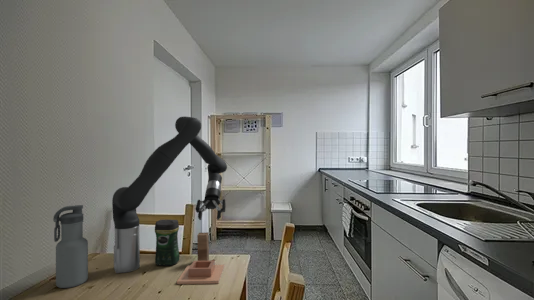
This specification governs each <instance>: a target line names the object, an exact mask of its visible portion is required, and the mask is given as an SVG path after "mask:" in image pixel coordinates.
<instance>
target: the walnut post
mask: <svg viewBox="0 0 534 300" xmlns="http://www.w3.org/2000/svg"><path fill="white" fill-rule="evenodd" d="M209 235H210V234H209V232H207V231H206V232H198V234H197V237H196V238H197V239H196V240H197V242H196V244H197V245H196V246H197V261H208V260H210V245H209V243H210V242H209V237H210V236H209Z"/></svg>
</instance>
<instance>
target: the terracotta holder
mask: <svg viewBox="0 0 534 300" xmlns="http://www.w3.org/2000/svg"><path fill="white" fill-rule="evenodd" d="M224 270H225V264H216V260H215V259H214V260H210V259H209V260H208V261H198V260H193V261H192V263H191V264H190V265H189V264H188V265H186V267H185V269H184V270H183V272H182V273H181V274H180V276H179V278H177V280H176V285H201V284H202V285H203V284H205V285H209V284H220V281H221V278H222V275H223V272H224Z"/></svg>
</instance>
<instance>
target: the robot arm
mask: <svg viewBox="0 0 534 300" xmlns="http://www.w3.org/2000/svg"><path fill="white" fill-rule="evenodd" d="M174 127H175V131H176V132H177V134H176V135H175V136H173V138H171V139H169V140H168V141H166V142H165V143H163V144H160V145H159V146H158V147H157V148H156V149H155V150H154V151H153V152H152V153H151V154H150V156H149V157H148V158H147V159H146V161H145V162H144V165H143V167H142V170H140V171H141V172H140V174H139V175H138V176H137V178H135V179H134V180H133V182H132V183H131V184H129V186H122V187H120V188H118V189H116V190H115V192H114V193H113V195H112V203H111V204H112V220H113V223H114V245H113V270H114V272H115V273H116V274H119V273H122V274H123V273H129V272H133V271H136V270H138V269H139V268H140V267H141V265H140V264H141V261H140V260H141V255H140V254H141V253H140V248H141V247H140V218H139V216H138V213H137V208H138V207H140V205H142V203H143V201H144V200H145V198H146V197H147V195H148V194H149V192H150V190H152V188H153V186H154V185H155V184H156V183H157V182H158V181H159V180H160V178H162V176H163V174H164V173H166V171H167V170H168V169H169V168H170V166H171V165H172V164H173V163H174V162H175V160H176V158H177V157H178V156H179V155H180V154H181V153H182V152H183V151H184V149H185V148H186V147H187V146H188V145H189V144H190V146H192V148H193V149H194V150H195V151H196V152H197V153H198V154H199V156H200V158H201V159H202V160H203V162H204V163H205V164H207V175H208V179H207V185H206V188H205V194H204V199H203V200H200V199H197V201H196V206H195V208H194V209H195V212H196V213H197V218H198V219H199V221H202V217H203V213H204V212H205V211H207V210H215V209H216V211H217V213H216V220H220V219H221V217H222V213H225V212H226V206H227V205H226V204H227V203H226V199H225V198H224V199H222V200H221V194H222V181H223V177H222V173H225V172H226V171H227V170H228V165H227V162H226V161H225V160H224V159H222V157H220V156H219V155H218V154H216V153H215V151H214V149H213V148H212V146H210V144H208V142H206V141H205V140H203V138H201V137H200V136H199V133H200V132H201V129H202V123H201V121H200V119H199V118H197V117H191V116H179V117H178V118H177V119H176V121H175V123H174ZM220 205H221V206H222V207H220Z"/></svg>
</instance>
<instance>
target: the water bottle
mask: <svg viewBox="0 0 534 300" xmlns="http://www.w3.org/2000/svg"><path fill="white" fill-rule="evenodd" d="M83 209H84V205H83V204H78V205H77V204H75V205H67V206H63V207H61V208H60V209H58V210H56V212H55V214H54V215H53V219H52V220H53V222H54V223H55V225H54V226H55V227H54V229H53V241H54V242H55V243H56V246H55V285H56V287H58V288H60V289H70V288H74V287H77V286H81V285H82V284H84V283H86V282H87V281H88V278H89V241H88V239H86V238H85V237H84V234H83V233H84V230H83V229H84V227H83V226H84V223H83V222H84V213H83ZM66 211H67V212H68V211H70V212H68V213H67V212H66ZM63 212H64V213H63ZM65 212H66V213H65ZM62 213H63V214H62ZM61 214H62V215H61ZM60 239H61V240H60ZM57 242H58V243H57Z"/></svg>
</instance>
